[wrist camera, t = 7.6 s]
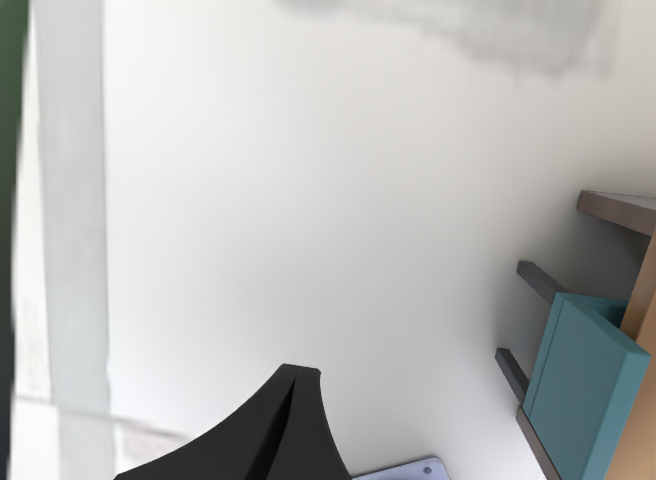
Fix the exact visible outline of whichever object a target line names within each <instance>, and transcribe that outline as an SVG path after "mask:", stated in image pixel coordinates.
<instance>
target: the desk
mask: <svg viewBox="0 0 656 480" xmlns="http://www.w3.org/2000/svg"><path fill="white" fill-rule="evenodd" d="M576 209H577V210H580V211H582V212H585V213H588V214H591V215H593V216H596V217H599V218H601V219H604V220H607V221H610V222H612V223H615V224H618V225H620V226H623V227H626V228H629V229H631V230H634V231H637V232H639V233H642V234H645V235H648V236H650V237H652V238H651V240H650V243H649V246H648V249H647V252H646V255H645V258H644V260H643V263H642V266H641V269H640V272H639V275H638V277H637V280H636V283H635V286H634V289H633V292H632V295H631V297H630V300H629V303H628V306H627V309H626V312H625V315H624V317H623V320H622V323H621V326H620V329H619V330H620V331H622V332H623V333H624V334H625V335H627V336H628V337H629V338H631V339H632V340H633V341H634V342H636V343H637V344H638V345H639V346H641V347H642V348H643V349H645V350H646V351H647V352H648V353H650V354H651V359H650V362H649V365H648V367H647V370H646V372H645V375H644V378H643V380H642V383H641V385H640V388H639V391H638V393H637V396H636V398H635V401H634V404H633V406H632V409H631V411H630V414H629V417H628V419H627V422H626V424H625V427H624V430H623V432H622V435H621V437H620V440H619V443H618V445H617V448H616V450H615V453H614V456H613V458H612V461H611V463H610V466H609V469H608V471H607V474H606V476H605V479H604V480H656V199H655V198H646V197H638V196H629V195H620V194H611V193H602V192H594V191H585V190H582V191H581V194H580V198H579V201H578V205H577V208H576ZM516 420H517V422H518V424H519V426H520V428H521V430H522V432H523V434H524V436H525V438H526V440H527V442H528V444H529V446H530V448H531V450H532V451H533V453H534V455H535V457H536V459H537V461H538V463H539V465H540V467H541V469H542V471H543V473H544V475H545V477H546V479H547V480H562V478H561V476H560V475H559V473H558V471H557V469H556V467H555V466H554V464H553V462H552V460H551V458H550V456H549V455H548V453H547V451H546V449H545V447H544V446H543V444H542V442H541V440H540V438H539V437H538V435H537V433H536V431H535V429H534V428H533V426H532V424H531V422H530V420H529V418H528V417H527V415H526V413H525V411H524V409H523V407H522V406H519V410H518V413H517V417H516Z"/></svg>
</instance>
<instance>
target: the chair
mask: <svg viewBox="0 0 656 480" xmlns="http://www.w3.org/2000/svg"><path fill="white" fill-rule="evenodd" d="M517 273H518V274H519V275H520V276H522V277H523V278H524V279H525V280H526V281H527V282H528V283H529V284H530V285H531V286H532V287H533V288H534V289H535V290H536V291H537V292H538V293H539V294H541V295H542V296H543V297H544V298H545V299H546V300H547V301H548V302H549V303H550V304H551V305H552V307H551V311H550V314H549V318H548V321H547V325H546V328H545V331H544V335H543V338H542V342H541V345H540V349H539V352H538V356H537V359H536V362H535V366H534V369H533V373H532V376H531V380H530V382H529V380H528V378H527V377H526V375H525V374H524V372H523V371H522V369H521V368H520V366H519V364H518V363H517V361H516V360H515V358H514V357H513V355H512V354H511V352H510V350H508V349H502V348H497V351H496V355H495V359H496V361H497V363H498V365H499V366H500V368H501V370H502V372H503V374H504V375H505V377H506V379H507V381H508V383H509V384H510V386H511V388H512V390H513V392H514V393H515V395H516V397H517V399H518V401H519V402H520V404H521V406H522V407H523V409H524V411H525V413H526V415H527V417H528V418H529V420H530V422H531V424H532V426H533V428H534V429H535V431H536V433H537V435H538V437H539V438H540V440H541V442H542V444H543V446H544V447H545V449H546V451H547V453H548V455H549V456H550V458H551V460H552V462H553V464H554V466H555V467H556V469H557V471H558V473H559V475H560V476H561V478H562V480H604V479H605V476H606V474H607V471H608V469H609V466H610V463H611V461H612V458H613V456H614V453H615V450H616V448H617V445H618V443H619V440H620V437H621V435H622V432H623V430H624V427H625V424H626V422H627V419H628V417H629V414H630V411H631V409H632V406H633V404H634V401H635V398H636V396H637V393H638V391H639V388H640V385H641V383H642V380H643V378H644V375H645V372H646V370H647V367H648V365H649V362H650V359H651V354H650V353H648V352H647V351H646V350H645V349H643V348H642V347H641V346H639V345H638V344H637V343H636V342H634V341H633V340H632V339H631V338H629V337H628V336H627V335H625V334H624V333H623V332H622V331H620V330H619V329H620V326H621V323H622V320H623V317H624V315H625V312H626V309H627V306H628V303H629V301H623V300H616V299H608V298H601V297H593V296H586V295H578V294H571V293H570V292H569V291H568V290H567V289H565V288H564V287H563V286H562V285H560V284H559V283H558V282H556V281H555V280H554V279H553V278H551V277H550V276H549V275H548V274H546V273H545V272H544V271H543V270H541V269H540V268H539V267H538V266H536V265H535V264H534V263H533V262H529V261H519V265H518V268H517Z"/></svg>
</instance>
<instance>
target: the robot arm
mask: <svg viewBox="0 0 656 480" xmlns="http://www.w3.org/2000/svg"><path fill="white" fill-rule="evenodd" d="M320 375H321V372H320V371H319V369H317V368H310V367H304V366H297V365H291V364H282V365H281V366H280V367H279V368H278V369H277V370H276V372H275V373H274V374H273V375H272V376H271V377H270V378H269V379H268V380H267V382H266V383H265V384H264V385H263V386H262V387H261V388H260V389H259V390H258V391H257V392H256V393H255V394H254V395H253V396H252V397H250V398H249V399H248V400H247V401H246V402H245V403H244V404H243V405H241V406H240V407H239V408H238V409H237V410H236V411H235V412H233V413H232V414H231V415H230V416H228V417H227V418H226V419H224V420H223V421H222V422H220V423H219V424H218V425H216V426H215V427H213V428H212V429H210V430H209V431H207V432H206V433H204V434H203V435H201V436H200V437H198V438H196V439H195V440H193V441H191V442H190V443H188V444H186V445H184V446H182V447H180V448H178V449H177V450H175V451H173V452H171V453H168V454H166V455H164V456H162V457H160V458H158V459H156V460H153V461H151V462H149V463H146V464H144V465H141V466H138V467H136V468H133V469H131V470H128V471H126V472H123V473H120V474H118V475H117V476H116V477H115V478H114V479H113V480H450V479H449V477H448V475H447V472H446V470H445V468H444V466H443V463H442V462H441V460H440V459H438V458H429V459H425V460H421V461H418V462H414V463H410V464H406V465H402V466H399V467H395V468H391V469H387V470H383V471H380V472H376V473H372V474H368V475H364V476H360V477H357V478H353V479H352V478H351V476H350V474H349V473H348V471H347V469H346V467H345V465H344V463H343V461H342V459H341V457H340V454H339V452H338V450H337V447H336V445H335V442H334V440H333V437H332V434H331V431H330V428H329V425H328V422H327V418H326V415H325V411H324V406H323V402H322V396H321V389H320ZM425 467H429V468H428V469H426V468H425Z"/></svg>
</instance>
